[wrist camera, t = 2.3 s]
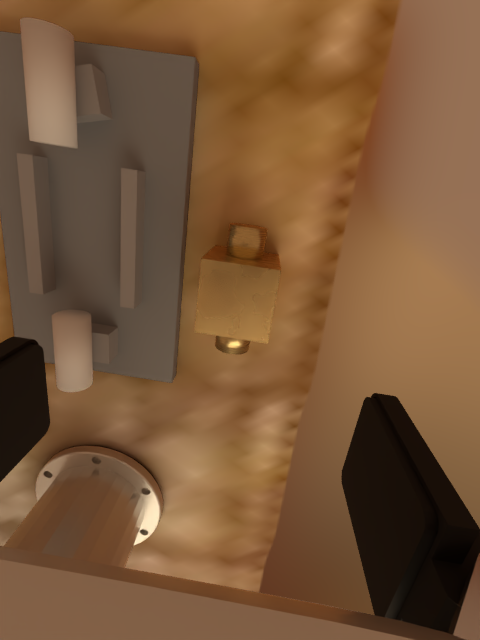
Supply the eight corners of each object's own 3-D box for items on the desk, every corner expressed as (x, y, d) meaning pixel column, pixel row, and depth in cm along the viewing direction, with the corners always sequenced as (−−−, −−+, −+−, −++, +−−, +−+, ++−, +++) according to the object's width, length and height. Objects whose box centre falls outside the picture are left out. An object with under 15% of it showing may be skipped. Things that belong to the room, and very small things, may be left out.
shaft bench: (175, 375, 28) (156, 412, 23) (27, 351, 29) (-23, 383, 24) (199, 64, 20) (177, 23, 16) (-6, 37, 21) (-90, -11, 16)
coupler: (264, 336, 26) (262, 370, 21) (207, 327, 27) (191, 359, 21) (283, 227, 23) (287, 236, 18) (218, 218, 24) (204, 224, 18)
